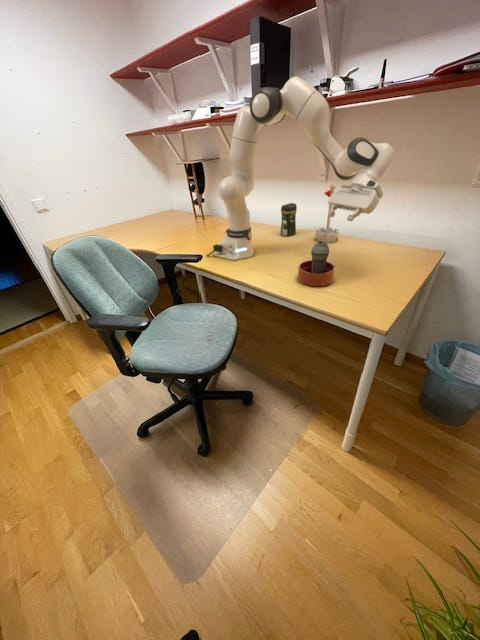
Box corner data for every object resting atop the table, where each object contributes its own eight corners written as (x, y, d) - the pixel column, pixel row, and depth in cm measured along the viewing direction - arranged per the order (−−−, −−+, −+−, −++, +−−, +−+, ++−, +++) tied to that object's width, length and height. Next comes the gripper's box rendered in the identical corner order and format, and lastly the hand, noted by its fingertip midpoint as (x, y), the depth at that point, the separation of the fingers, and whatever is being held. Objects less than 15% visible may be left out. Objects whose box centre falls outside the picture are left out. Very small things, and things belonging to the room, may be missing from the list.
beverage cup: (312, 272, 115) (317, 227, 104) (328, 275, 112) (335, 229, 100) (305, 278, 111) (310, 232, 99) (322, 282, 107) (328, 234, 95)
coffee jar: (288, 231, 170) (289, 201, 160) (297, 233, 165) (299, 202, 155) (278, 235, 166) (278, 204, 155) (287, 237, 160) (288, 205, 150)
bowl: (293, 284, 108) (294, 271, 105) (302, 270, 119) (303, 258, 116) (329, 289, 103) (332, 276, 99) (335, 274, 113) (337, 261, 110)
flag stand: (342, 239, 151) (351, 182, 134) (328, 244, 145) (336, 185, 128) (324, 234, 160) (330, 181, 142) (310, 240, 154) (315, 184, 136)
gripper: (337, 179, 105) (317, 209, 107) (382, 183, 90) (358, 217, 92) (343, 190, 109) (323, 218, 111) (387, 195, 94) (363, 227, 96)
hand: (339, 218), depth 101 cm, fingers open, 8 cm apart
